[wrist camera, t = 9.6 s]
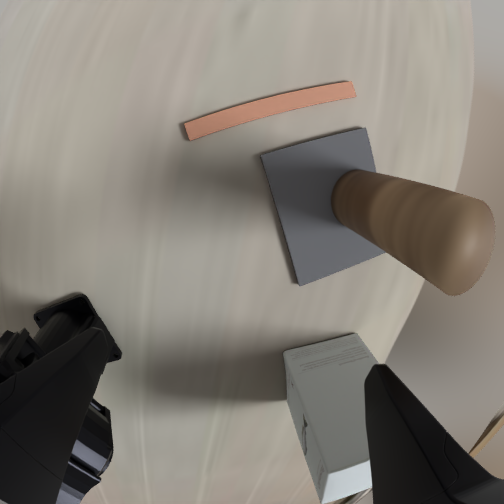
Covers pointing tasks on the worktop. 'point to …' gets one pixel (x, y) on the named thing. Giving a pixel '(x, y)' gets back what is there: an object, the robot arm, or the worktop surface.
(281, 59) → the worktop surface
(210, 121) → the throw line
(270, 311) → the worktop surface
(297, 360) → the supplement box
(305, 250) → the mat
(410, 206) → the pin
